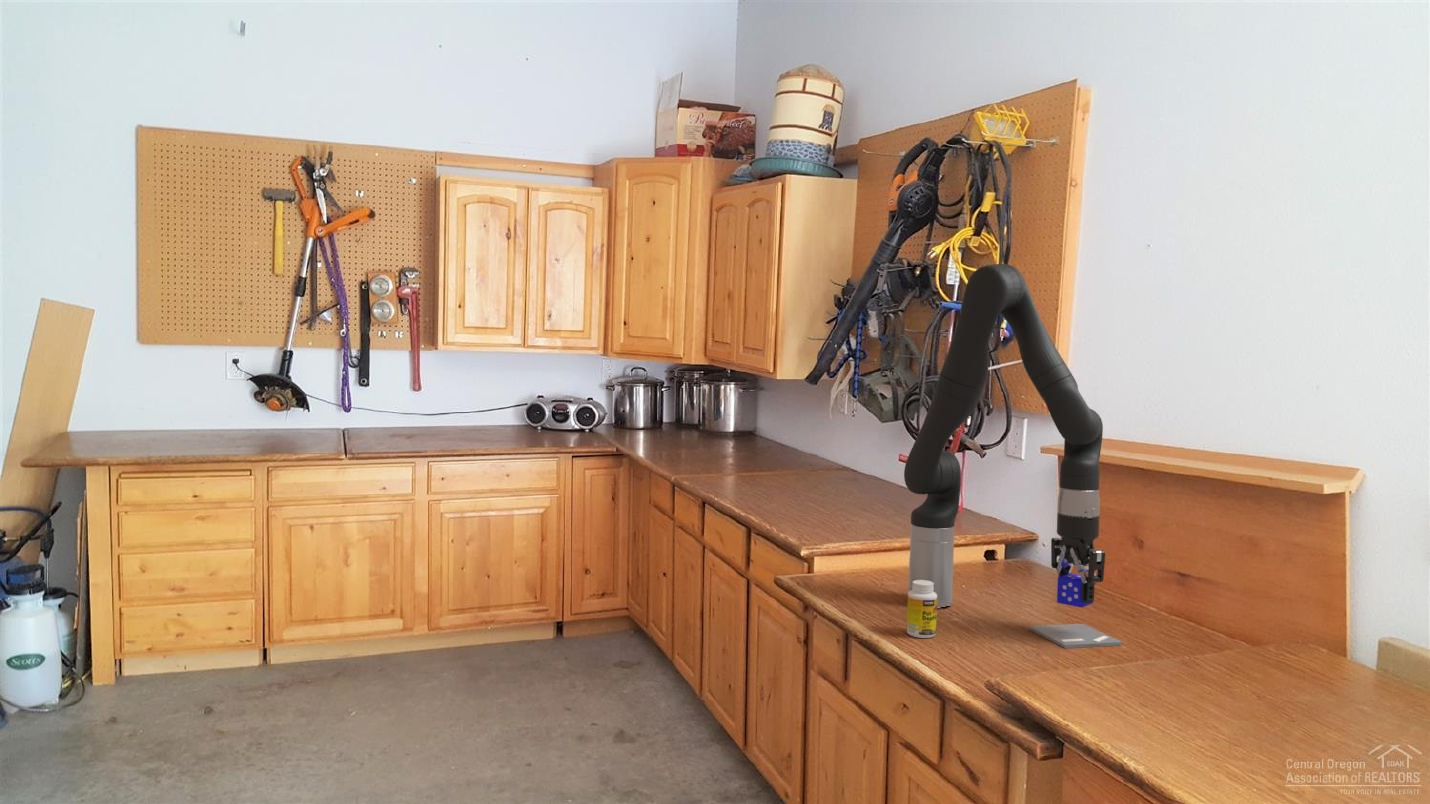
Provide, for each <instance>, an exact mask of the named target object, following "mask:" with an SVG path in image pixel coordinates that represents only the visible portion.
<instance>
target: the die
mask: <svg viewBox="0 0 1430 804" xmlns="http://www.w3.org/2000/svg"><path fill="white" fill-rule="evenodd" d="M1082 583H1083V582H1082V579H1081V576H1080V574H1076V573H1069V574H1066V575H1063V576H1060V577H1059V576H1058V577H1057V587H1056V589H1057V593H1056V595H1057V596H1056V597H1057V598H1056V602H1057V603H1058V604H1061V605H1067V606H1072V607H1077V608H1082V609H1083V608H1084V607H1087V606H1090V605H1092V604H1093V603H1083V602H1081V584H1082Z"/></svg>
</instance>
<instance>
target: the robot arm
mask: <svg viewBox="0 0 1430 804" xmlns="http://www.w3.org/2000/svg"><path fill="white" fill-rule="evenodd" d="M1000 315H1001V316H1002V317H1003V318H1004V320H1005V321H1006V322H1007V324H1008V325H1009V327H1010V328H1011V330H1012V333H1013V335H1014V337H1015V339H1016V340H1015V341H1016V343H1017V346H1018V350H1019V355H1020V358H1021V361H1022V364H1023V367H1024V369H1025V372H1026V374H1027V376H1028V378H1029V379H1030V380H1031V382H1032V384H1033V386H1034V387H1035V389H1036V391H1037V393H1038V395H1040V397H1041V398H1042V400H1043V401H1044V403H1045V406H1046V407H1047V409H1048V412H1049V415H1050V416H1051V419H1052V422H1053V423H1054V425H1055V427H1056V429H1057V430H1058V433H1059V434H1060V435H1061V437H1062V438H1063V440H1064V445H1063V447H1064V448H1063V458H1062V460H1061V463H1060V467H1059V491H1058V496H1057V513H1056V516H1057V517H1056V534H1057V535H1058V536H1060V537H1052V538H1051V539H1050V540H1051V542H1050V543H1051V545H1050V549H1051V550H1050V551H1051V552H1050V553H1051V557H1050V558H1051V561H1050V562H1051V568H1052V569H1055V570H1056V573H1057V574H1058V577H1060V576H1063V575H1066V574H1069V573H1070V574H1072V573H1071V572H1072V571H1073V569H1074V566H1075V570H1076V572H1077V573H1079V575H1080V576H1081V579H1082V582H1083V583H1082V584H1081V602H1083V603H1092V604H1093V603H1094V600H1095V585H1096V583H1103V581H1104V574H1105V563H1106V562H1105V561H1106V552H1105V551H1104V550H1100V549H1099V550H1098V549H1095V546H1094V541H1095V540H1096V539H1098V538H1099V536H1100V515H1101V514H1100V511H1101V510H1100V509H1101V499H1100V490H1099V489H1100V457H1101V452H1102V451H1101V450H1102V444H1103V443H1102V442H1103V441H1102V440H1103V430H1104V427H1103V421H1102V418H1101V416H1100V414H1098V412H1097V411H1096V410H1094V409H1092V408H1090V407H1089V406H1088V404H1087V403H1086V400H1085V399H1084V397H1083V396H1082V394H1081V393H1080V390H1079V387H1078V383H1077V381H1076V378H1075V377H1074V375H1073V373H1072V371H1071V370H1070V368H1069V367H1068V366H1067V364H1066V362H1065V360H1064V359H1063V358H1062V355H1061V354H1060V353H1059V351H1058V348H1056V347H1057V346H1055V344H1054V342H1053V341H1052V338H1051V337H1050V335H1049V333H1048V330H1047V329H1046V327H1045V325H1044V322H1043V320H1042V318H1041V315H1040V314H1039V311H1038V310H1037V307H1036V304H1035V303H1034V300H1033V297H1032V294H1031V292H1030V289H1029V287H1028V284H1027V282H1026V279H1025V277H1024V276H1023V275H1022V273H1021V270H1019V269H1018V268H1016V267H1015V266H1014V265H1011V264H1007V263H997V264H988V265H983V266H981V267H979V268H976V269H975V270H974V271H973V272H972V274H971V275H970V276H969V278H968V280H967V283H966V286H965V289H964V294H963V297H962V303H961V306H960V312H959V315H958V320H957V325H956V328H955V331H954V334H953V337H952V339H951V342H950V344H949V349H948V352H947V354H946V357H945V359H944V363H943V366H942V367H941V370H940V374H939V376H938V380H937V383H936V385H935V388H934V392H933V395H932V398H931V401H930V404H929V407H928V410H927V412H926V414H925V417H924V420H923V423H922V426H921V428H920V431H919V432H918V434H917V437H916V439H915V440H914V443H913V446H911V447H912V448H911V449H910V452H909V454H908V456H907V458H906V461H905V465H904V469H903V470H904V471H903V477H904V480H903V481H904V483H905V486H906V488H907V489H908V491H910V492H911V493H913V494H916V495H927V496H926V499H925V500H924V501H923V503H922V504H921V505H919V506H917V507H916V508H915V509H912V511H911V514H910V539H909V540H910V543H909V561H908V563H909V565H908V566H909V567H908V592H909V591H911V590H912V583H913V581H915V580H927V581H931V582H933V583H934V589H933V592H935V593H936V594H937V607H943V606H947V605H950V604H951V603H952V604H953V586H954V585H953V582H954V554H955V553H954V551H955V547H954V546H955V522H956V517H957V515H958V512H959V507H960V498H961V497H960V495H961V494H960V493H961V485H962V469H961V464H960V461H959V460H958V459H959V458H958V457H957V456H956V455H955V454H954V453H952V452H951V451H947V450H945V449H944V448H945V447H946V445H947V443H948V441H949V440H950V438H951V436H952V435H953V434H954V433H955V432H956V431H957V430H958V429H959V428H960V426H962V424H963V423H964V422H965V421H966V420H967V419H968V418H969V417H970V416H971V415H972V413H973V412H974V411H975V410H976V408H977V406H978V404H979V402H980V400H981V397H982V394H983V392H984V389H985V385H986V383H987V380H988V376H989V375H988V374H989V344H990V341H991V340H990V339H991V336H992V332H993V330H994V328H995V324H996V323H997V320H998V318H999V316H1000ZM1096 571H1097V573H1096Z"/></svg>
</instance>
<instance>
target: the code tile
mask: <svg viewBox="0 0 1430 804" xmlns="http://www.w3.org/2000/svg"><path fill="white" fill-rule="evenodd" d="M1028 629H1029V630H1030V631H1032V632H1034V633H1035V634H1037V635H1039V636H1041V637H1042V638H1045V639H1047V640H1049V641H1051V642H1053V643H1054V644H1056V645H1059V647H1062V648H1064V649H1074V648H1075V649H1078V648H1093V647H1095V648H1096V647H1110V646H1111V647H1112V646H1113V647H1115V646H1123V641H1121V640H1120V639H1117V638H1115V637H1112V636H1111V635H1108V634H1106V633H1104V632H1102V631H1099V630H1098V629H1095V628H1094V627H1091V626H1089V625H1086V624H1084V623H1073V624H1071V623H1070V624H1053V625H1051V624H1050V625H1030V626H1028Z"/></svg>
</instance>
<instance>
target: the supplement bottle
mask: <svg viewBox="0 0 1430 804" xmlns="http://www.w3.org/2000/svg"><path fill="white" fill-rule="evenodd" d="M933 589H934V583H933V582H931V581H927V580H915V581H913V583H912V590H911V591H909V590H908V593H907V607H906V608H907V611H906V632H907V634H908V635H909V636H910V637H914V638H918V639H931V638H933V637H934V638H935V636H936V634H937V620H938V619H937V616H938V615H937V613H938V608H937V594H936V593H935V592H933Z"/></svg>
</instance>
